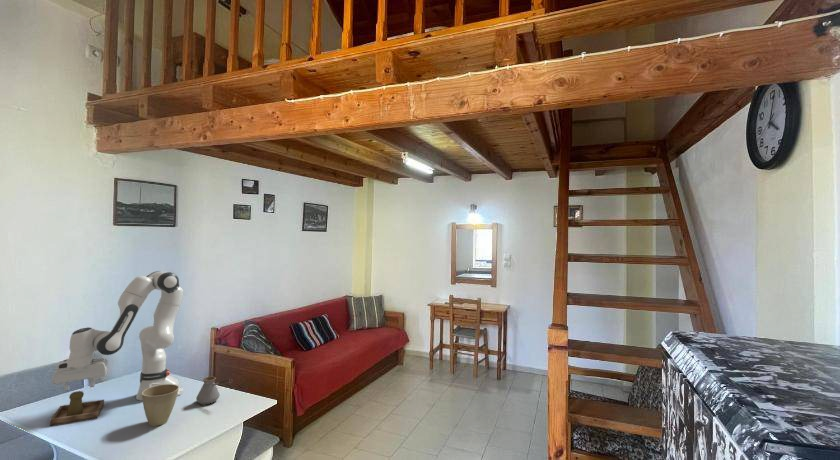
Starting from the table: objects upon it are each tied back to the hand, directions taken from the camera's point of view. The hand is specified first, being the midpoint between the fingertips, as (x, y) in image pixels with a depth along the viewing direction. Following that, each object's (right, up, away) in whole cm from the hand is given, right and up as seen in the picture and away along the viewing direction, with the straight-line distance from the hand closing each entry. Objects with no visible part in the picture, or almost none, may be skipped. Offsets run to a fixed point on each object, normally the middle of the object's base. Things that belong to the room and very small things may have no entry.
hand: (79, 388), depth 181 cm
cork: (-1, -13, -2) cm, 13 cm away
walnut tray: (-1, -14, 0) cm, 14 cm away
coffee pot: (+57, -17, +20) cm, 63 cm away
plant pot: (+42, -15, -4) cm, 45 cm away
